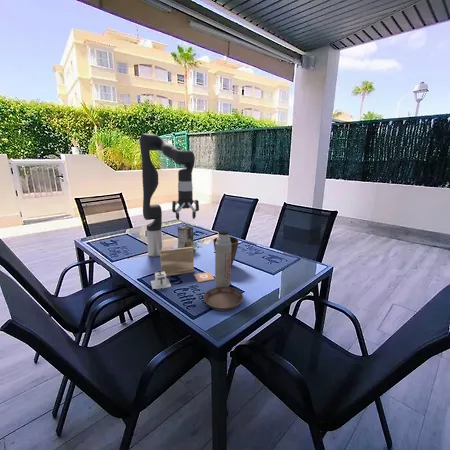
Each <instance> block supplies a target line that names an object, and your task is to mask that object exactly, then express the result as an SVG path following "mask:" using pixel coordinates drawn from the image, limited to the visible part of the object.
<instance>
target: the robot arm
mask: <svg viewBox="0 0 450 450" xmlns="http://www.w3.org/2000/svg"><path fill="white" fill-rule="evenodd" d="M139 148H140V157H141V167H142V169H141V170H142V173H141V174H142V175H141V176H142V177H141V178H142V196H143V197H142V199H143V200H142V216H143V219H144V220H145V221H151V220H153V221H152V222H150V223H148V224H147V225H146V240H147V242H146V243H147V255H148V256H149V257H152V258H154V257H160V250H163V235H162V234H163V232H162V226H163V223H162V218H163V217H162V216H163V214H162V213H163V211H162V207H161V205H160V204H157V203H156V204H151V200H152V197H153V195H154V193H155V192H156V190H157V188H158V186H159V173H158V170H157V168H156V166H155V165H154V164H153V161H152V160H151V154H150V153H151V152H150V151H160V152H162V154H163V155H164V156H165V157H167V158H169V159H171V160H172V161H173V162H174V163H176V164H177V165H184V167H183V168H181V169H179V170H178V171H177V174H178V175H177V178H178V180H177V181H178V184H177V190H178V191H177V197H178V199H177V200H172V204H171V205H172V207H171V208H172V209H171V211H172V213H175V219H176V220H177V221H180V211H181V210H182V209H185V210H186V209H190V210H191V211H192V212H191V213H192V214H191V215H192V216H191V217H192V219H193V220H194V219H196V215H197V212H199V211H200V207H199V205H200V204H199V200H198V199H195V200H194V199H193V189H194V188H193V175H192V174H193V170H194V165H195V162H196V158H195V154H194V152H193V151H192V150H183V149H181V148H180V147H178V146H176V145H174V144H171V143H169V142H167V141H166V140H164V138H162V137H161V136H159V135H158V134H155V133H142V134H141V135H140V137H139ZM177 204H178V206H177ZM193 204H194V205H195V207H193ZM176 206H177V208H176Z"/></svg>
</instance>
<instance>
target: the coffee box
mask: <svg viewBox="0 0 450 450" xmlns="http://www.w3.org/2000/svg"><path fill="white" fill-rule="evenodd" d="M177 242H178V243H177V244H178V245H177V246H178V247H177V248H185V247H193V248H194V227H193V226H190V225H184V226H181V227H178V228H177Z"/></svg>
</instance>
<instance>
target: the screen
mask: <svg viewBox="0 0 450 450" xmlns="http://www.w3.org/2000/svg"><path fill="white" fill-rule="evenodd" d="M159 257H160V258H159V259H160V272H164V271H165V274H166V277H169V276H176V275H181V274H189V273H195V269H194V246H193V247H185V248H178V247H177V248H171V249H162V250H160V256H159Z"/></svg>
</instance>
